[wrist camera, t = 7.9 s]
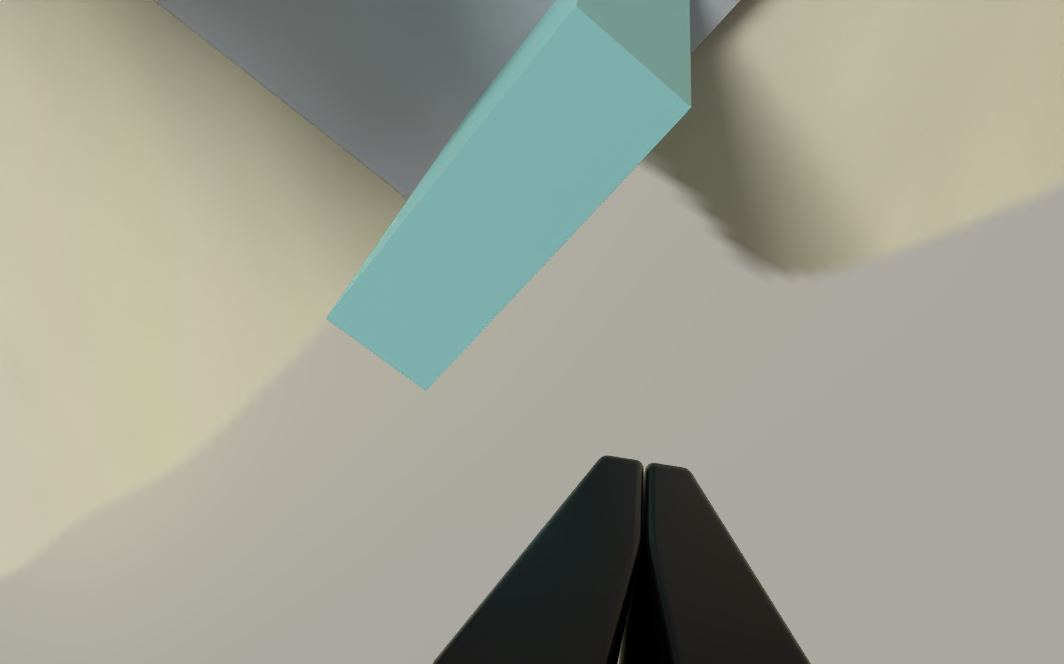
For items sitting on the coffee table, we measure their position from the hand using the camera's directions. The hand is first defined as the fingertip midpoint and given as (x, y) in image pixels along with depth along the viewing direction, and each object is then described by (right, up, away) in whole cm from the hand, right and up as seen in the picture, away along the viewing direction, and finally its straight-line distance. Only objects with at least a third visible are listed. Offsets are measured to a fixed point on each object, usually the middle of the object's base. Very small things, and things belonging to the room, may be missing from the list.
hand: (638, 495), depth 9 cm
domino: (0, +7, +9) cm, 12 cm away
